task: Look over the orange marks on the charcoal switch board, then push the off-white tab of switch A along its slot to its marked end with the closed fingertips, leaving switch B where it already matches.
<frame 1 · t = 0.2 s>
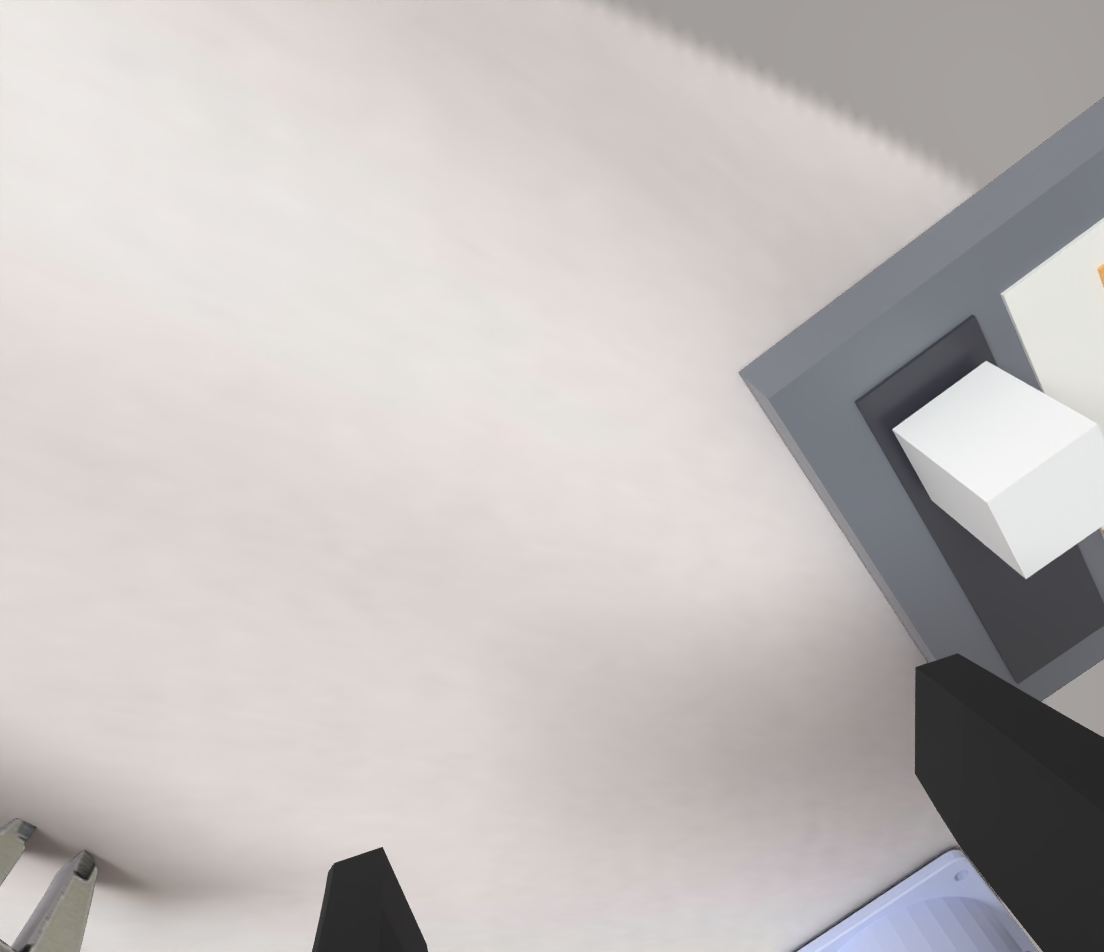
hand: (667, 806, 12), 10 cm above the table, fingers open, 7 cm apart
dip bank: (1092, 398, 23), on the table
switch a: (1005, 466, 19), point 3 cm above the table, slide at 0.0 cm
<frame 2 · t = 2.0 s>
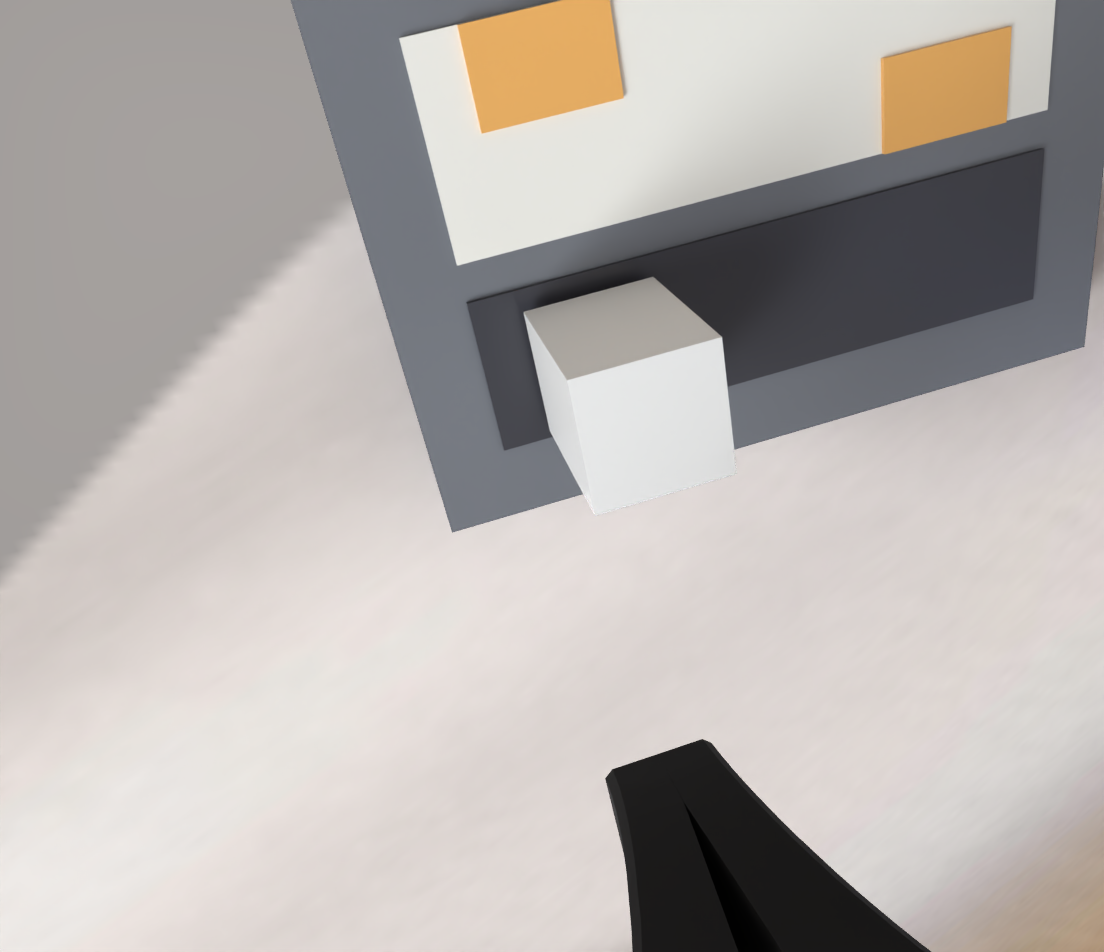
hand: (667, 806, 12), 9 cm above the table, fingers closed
dip bank: (718, 69, 17), on the table
switch a: (625, 389, 16), point 3 cm above the table, slide at 0.0 cm
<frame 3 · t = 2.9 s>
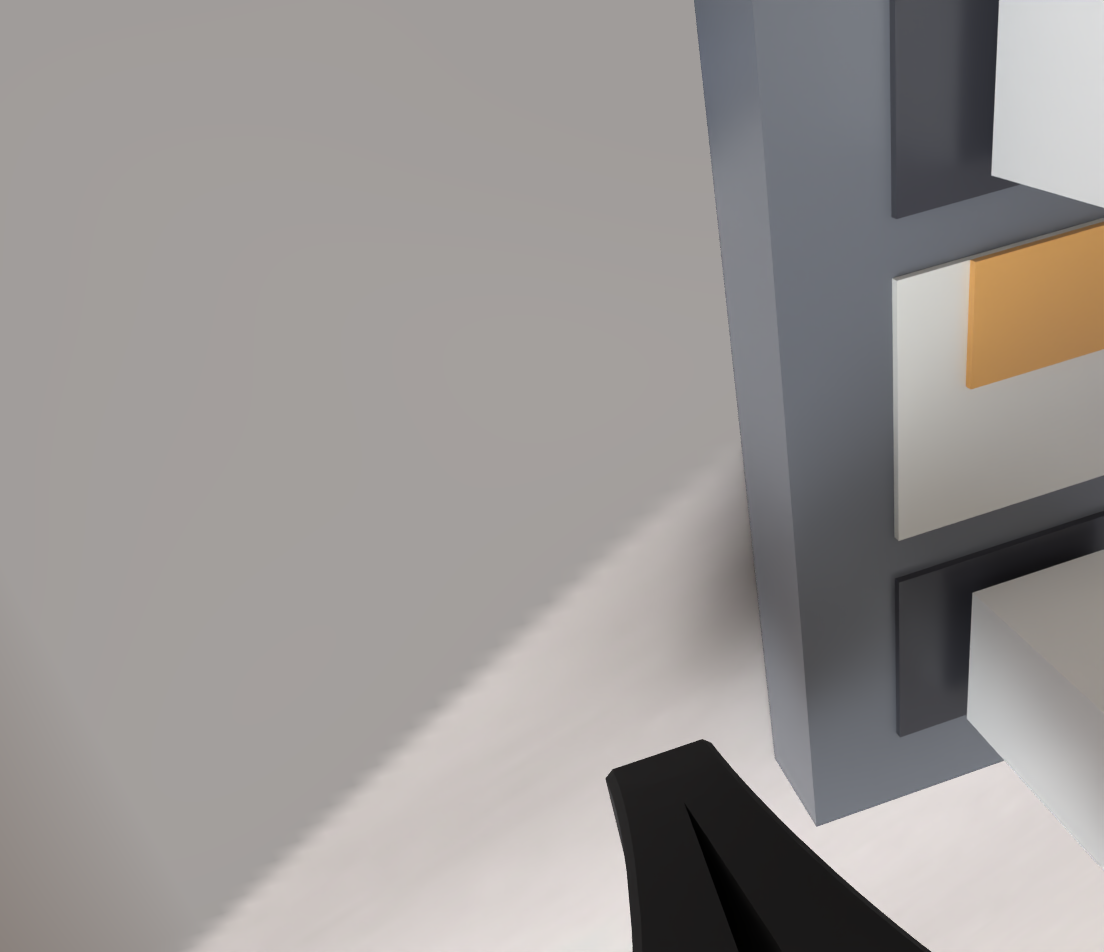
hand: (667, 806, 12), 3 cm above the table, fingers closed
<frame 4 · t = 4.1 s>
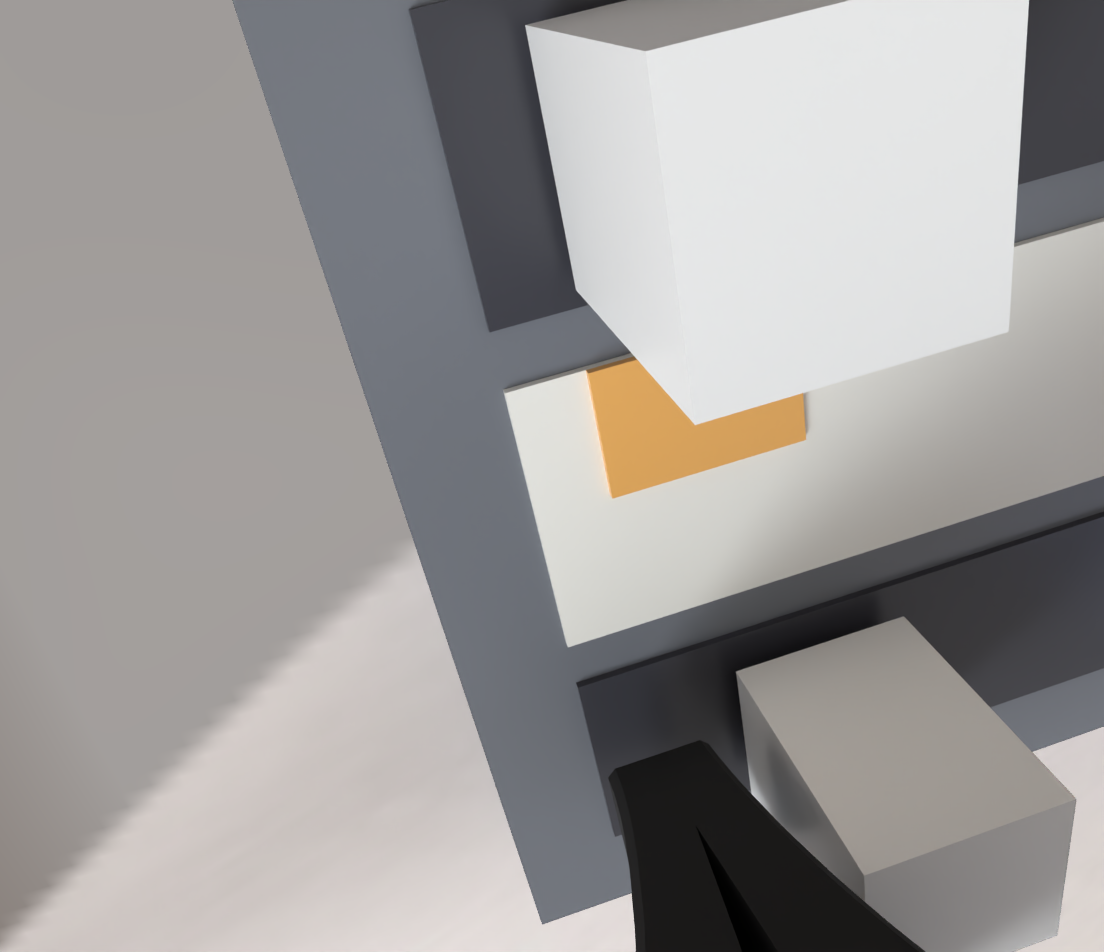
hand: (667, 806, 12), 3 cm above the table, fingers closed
dip bank: (903, 352, 13), on the table
switch b: (745, 165, 7), point 3 cm above the table, slide at 0.0 cm
switch a: (887, 796, 11), point 4 cm above the table, slide at 1.1 cm, touching gripper
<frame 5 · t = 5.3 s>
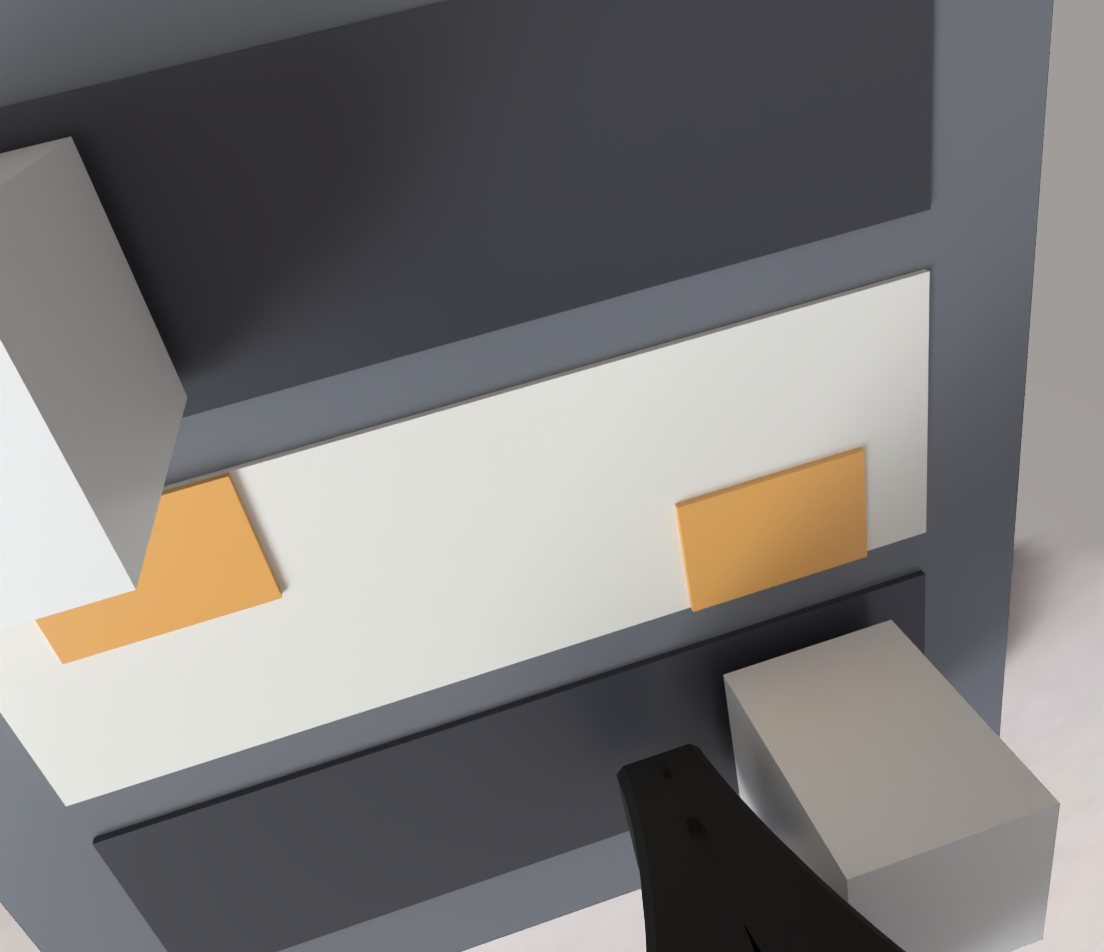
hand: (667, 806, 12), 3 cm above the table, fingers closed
dip bank: (463, 481, 12), on the table
switch a: (874, 799, 11), point 3 cm above the table, slide at 7.2 cm, touching gripper
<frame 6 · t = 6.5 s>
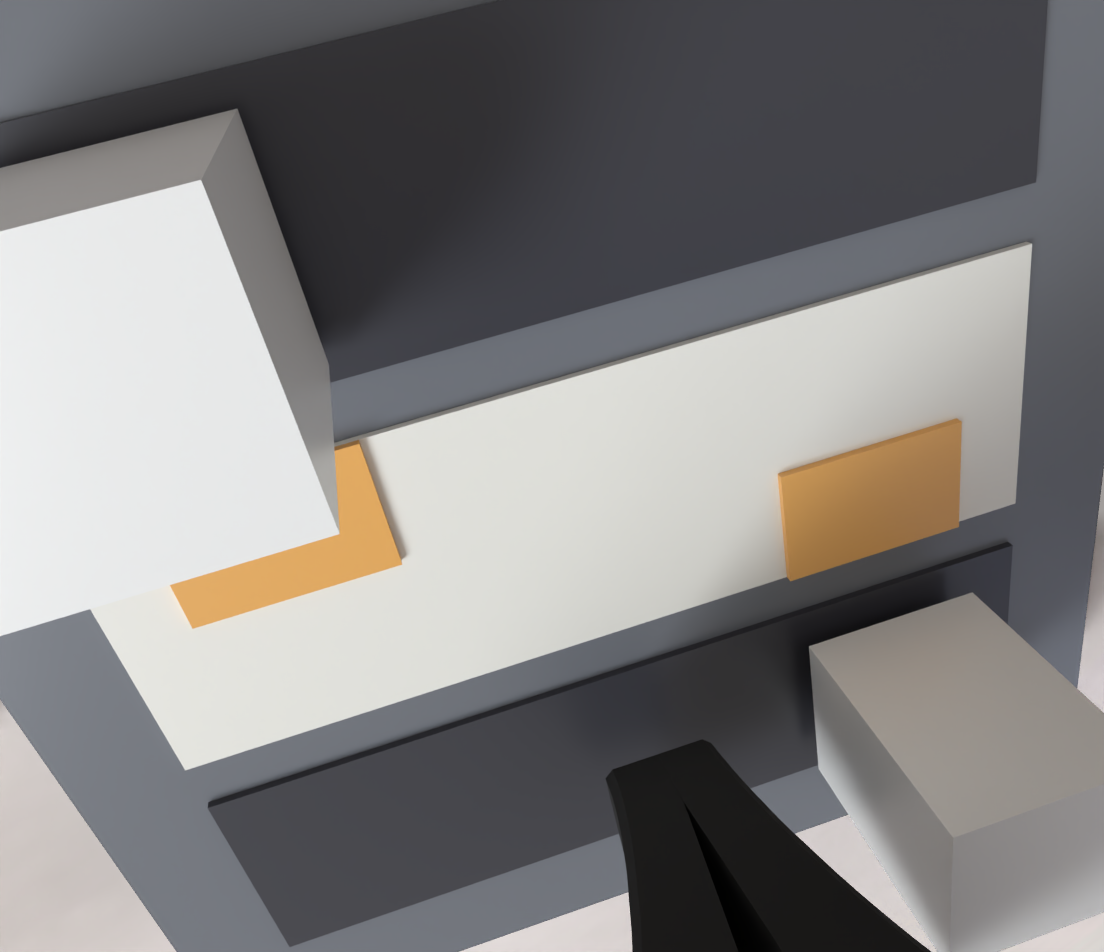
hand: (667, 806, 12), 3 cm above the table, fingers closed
dip bank: (562, 455, 12), on the table
switch b: (125, 341, 7), point 4 cm above the table, slide at 0.0 cm
switch a: (961, 766, 12), point 3 cm above the table, slide at 7.1 cm
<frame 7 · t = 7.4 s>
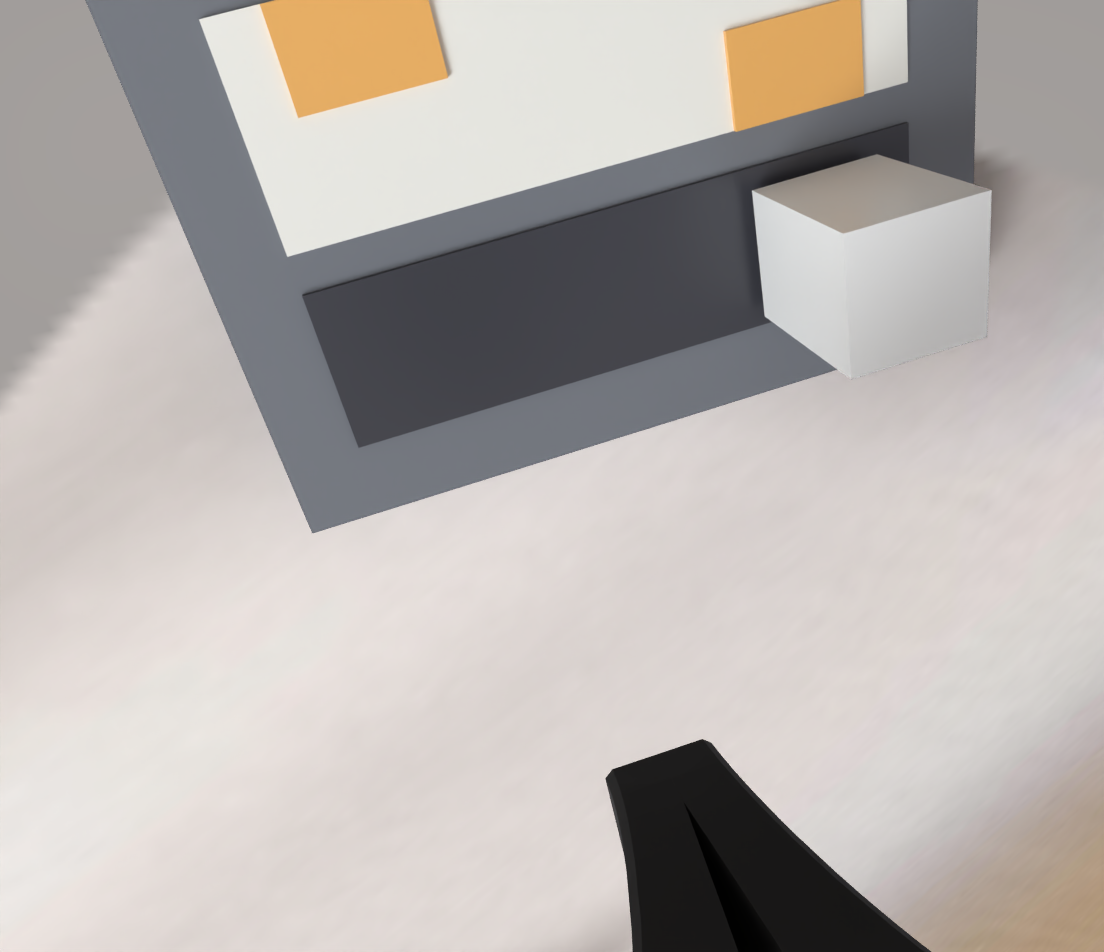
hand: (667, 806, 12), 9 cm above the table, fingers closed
dip bank: (563, 47, 16), on the table
switch a: (864, 260, 16), point 4 cm above the table, slide at 7.1 cm
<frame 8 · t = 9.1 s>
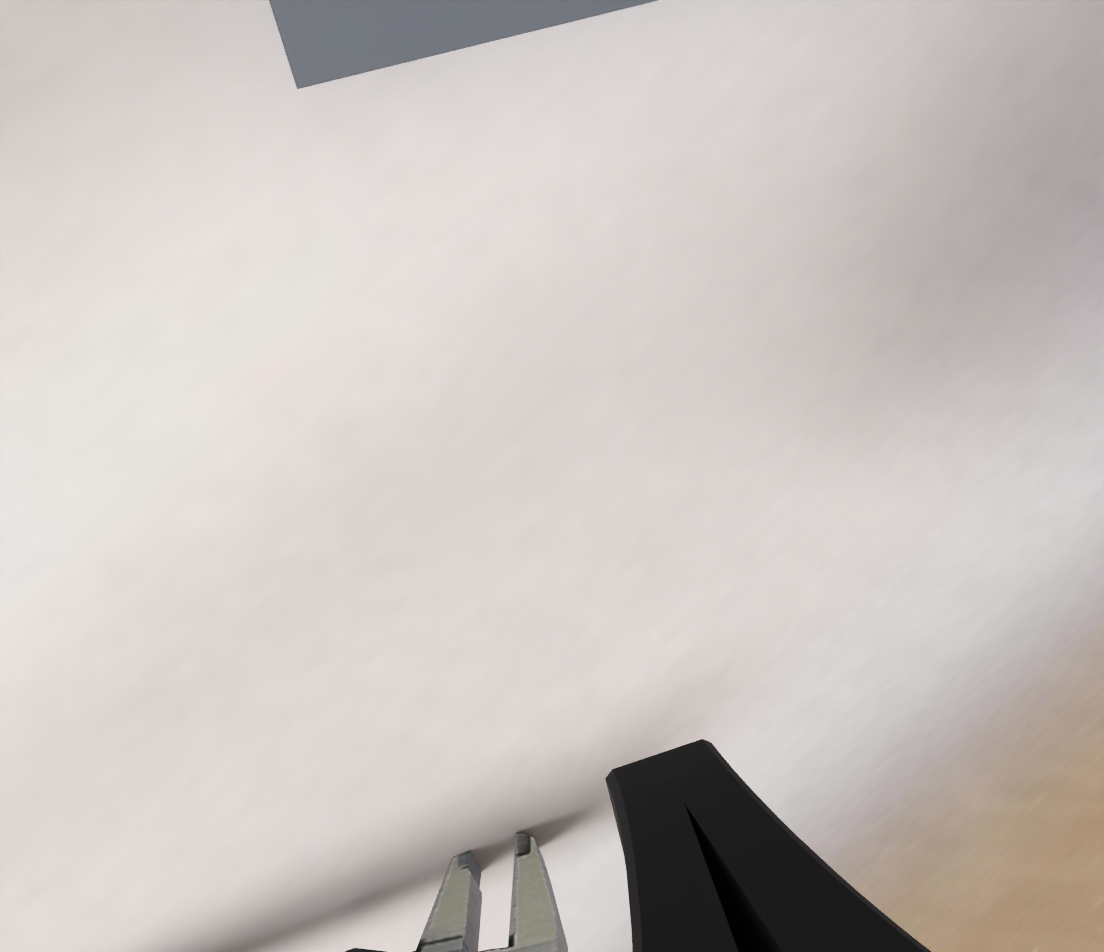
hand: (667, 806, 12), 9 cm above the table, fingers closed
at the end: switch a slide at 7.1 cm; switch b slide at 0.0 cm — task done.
